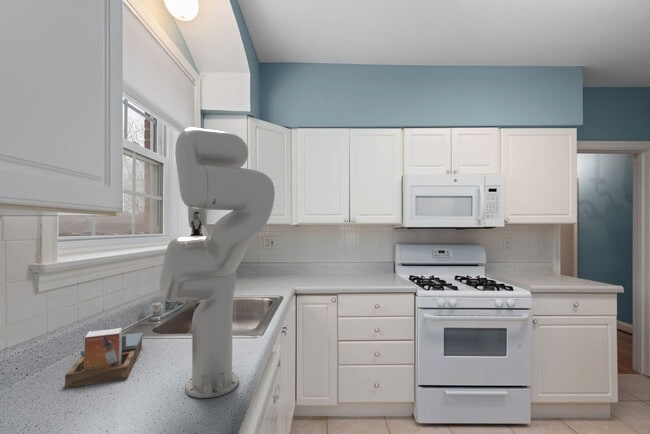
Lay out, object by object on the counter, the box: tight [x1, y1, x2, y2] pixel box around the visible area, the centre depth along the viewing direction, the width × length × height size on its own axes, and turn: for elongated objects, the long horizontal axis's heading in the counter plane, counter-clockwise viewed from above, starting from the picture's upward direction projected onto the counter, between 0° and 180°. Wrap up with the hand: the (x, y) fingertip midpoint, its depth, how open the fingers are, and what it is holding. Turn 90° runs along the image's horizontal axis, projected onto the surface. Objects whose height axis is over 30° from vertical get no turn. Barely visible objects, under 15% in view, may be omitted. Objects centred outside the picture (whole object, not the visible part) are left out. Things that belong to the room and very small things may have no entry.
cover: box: [80, 332, 144, 356], centre depth 103 cm, size 12×14×4 cm
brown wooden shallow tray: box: [64, 338, 143, 388], centre depth 97 cm, size 24×13×3 cm, turn 20°
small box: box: [83, 327, 123, 371], centre depth 91 cm, size 8×6×10 cm
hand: (196, 247), depth 102 cm, fingers open, 9 cm apart
